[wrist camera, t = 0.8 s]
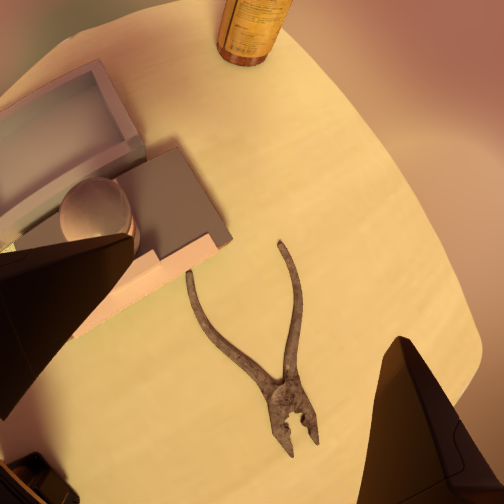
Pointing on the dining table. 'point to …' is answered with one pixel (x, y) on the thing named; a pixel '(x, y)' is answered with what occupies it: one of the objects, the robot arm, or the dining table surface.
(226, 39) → the sauce bottle
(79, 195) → the cylinder
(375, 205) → the dining table surface
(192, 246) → the fuse panel
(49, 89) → the tray
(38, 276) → the robot arm
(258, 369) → the pliers
